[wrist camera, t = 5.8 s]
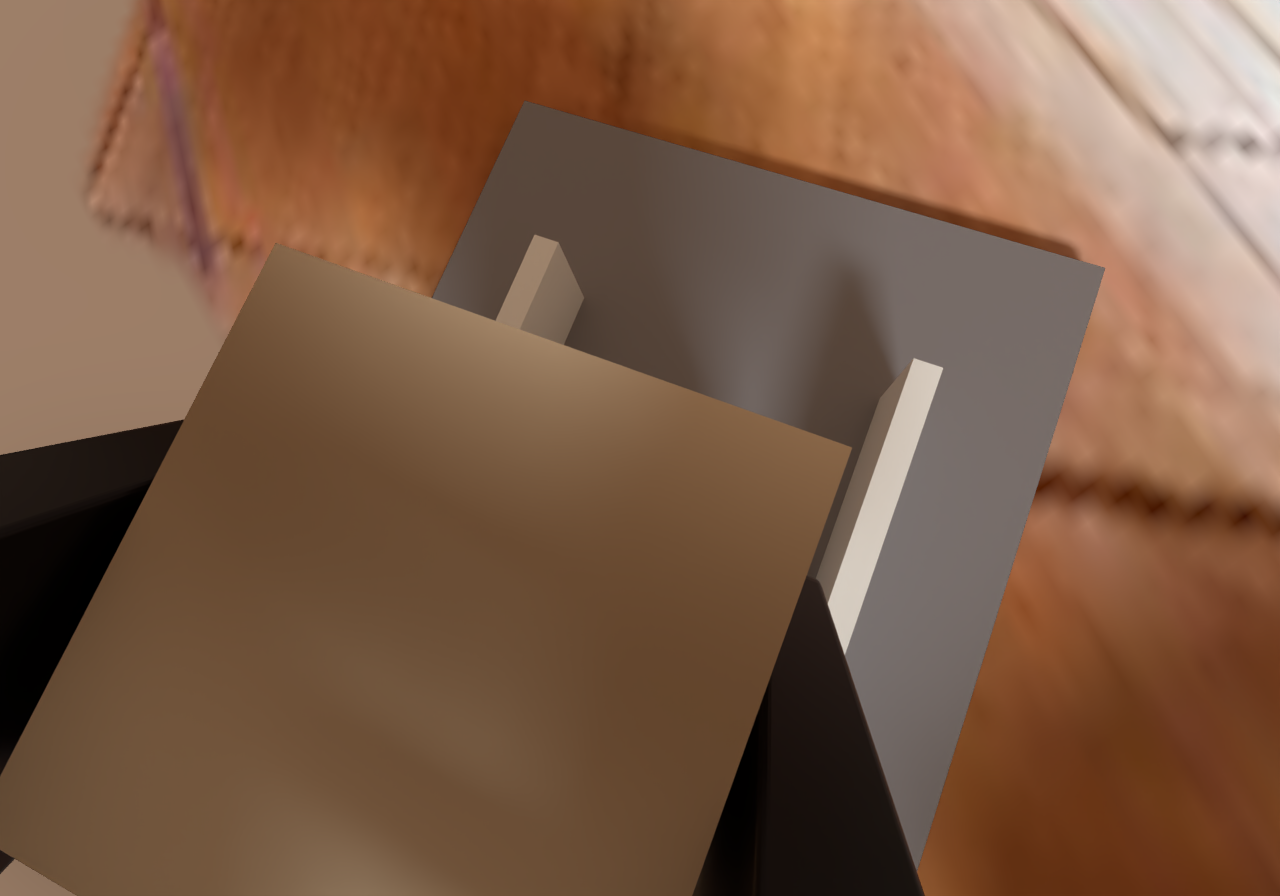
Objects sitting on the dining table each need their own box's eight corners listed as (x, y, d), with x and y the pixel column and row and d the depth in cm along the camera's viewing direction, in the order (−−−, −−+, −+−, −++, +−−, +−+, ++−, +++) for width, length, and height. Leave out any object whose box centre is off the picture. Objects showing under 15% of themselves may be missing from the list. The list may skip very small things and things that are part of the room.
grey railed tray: (730, 1415, 14) (735, 1716, 10) (109, 1024, 17) (-65, 1149, 13) (1088, 282, 18) (1186, 200, 14) (532, 119, 20) (490, 15, 17)
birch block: (674, 785, 13) (582, 1198, 4) (444, 678, 14) (-29, 832, 5) (766, 538, 14) (853, 448, 5) (542, 451, 15) (275, 242, 6)
